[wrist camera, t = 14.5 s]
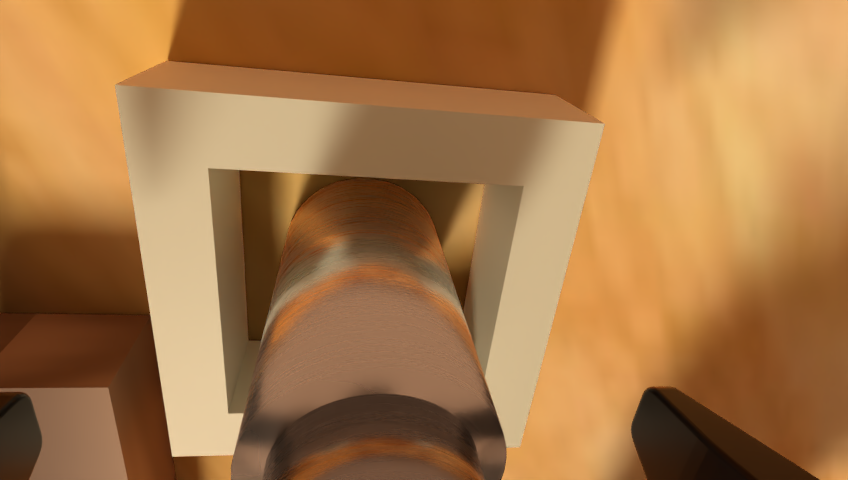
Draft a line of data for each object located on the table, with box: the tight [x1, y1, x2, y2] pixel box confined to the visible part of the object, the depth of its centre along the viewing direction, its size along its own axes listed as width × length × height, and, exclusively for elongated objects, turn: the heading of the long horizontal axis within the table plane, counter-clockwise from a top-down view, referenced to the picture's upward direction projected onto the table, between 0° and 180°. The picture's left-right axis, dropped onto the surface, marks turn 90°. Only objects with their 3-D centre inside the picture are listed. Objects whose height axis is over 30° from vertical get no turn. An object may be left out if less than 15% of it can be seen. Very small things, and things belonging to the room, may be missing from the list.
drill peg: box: [231, 178, 506, 480], centre depth 9 cm, size 4×4×8 cm
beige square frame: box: [115, 61, 605, 457], centre depth 11 cm, size 8×8×2 cm
